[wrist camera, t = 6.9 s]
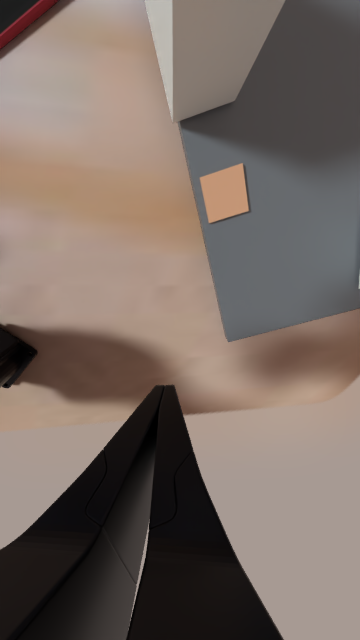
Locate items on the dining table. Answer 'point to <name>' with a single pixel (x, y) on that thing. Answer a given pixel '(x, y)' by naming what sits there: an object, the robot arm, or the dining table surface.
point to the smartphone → (19, 16)
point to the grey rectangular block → (207, 48)
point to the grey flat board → (285, 175)
